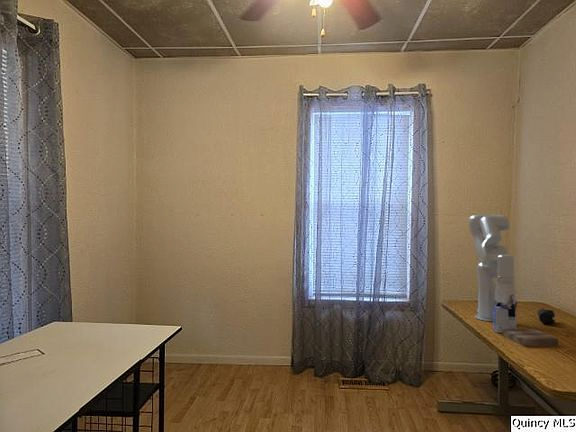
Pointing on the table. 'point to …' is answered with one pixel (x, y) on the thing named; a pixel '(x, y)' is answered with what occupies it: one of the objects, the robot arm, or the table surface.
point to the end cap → (546, 316)
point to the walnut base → (530, 337)
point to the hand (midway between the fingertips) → (505, 314)
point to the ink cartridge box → (503, 318)
